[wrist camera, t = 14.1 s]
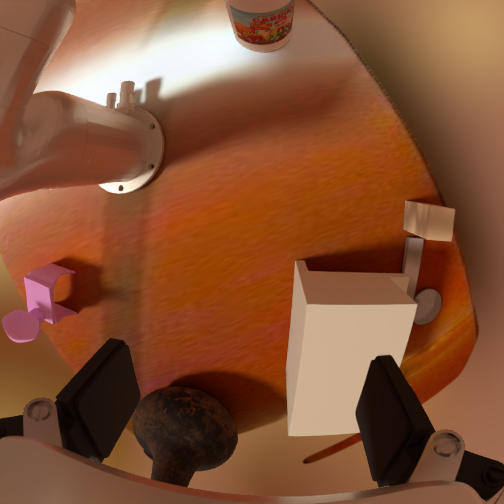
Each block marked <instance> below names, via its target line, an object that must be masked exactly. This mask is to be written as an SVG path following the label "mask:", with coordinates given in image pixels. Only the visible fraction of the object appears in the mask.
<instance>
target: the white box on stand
mask: <svg viewBox="0 0 504 504" xmlns="http://www.w3.org/2000/svg"><path fill="white" fill-rule="evenodd" d="M408 283H409V277H408V276H407V275H406V274H402V273H358V272H324V271H308V269H307V266H306V264H305V261H304V260H295V273H294V287H293V300H292V312H291V323H290V334H289V344H288V354H287V364H286V385H287V411H288V436H317V435H334V434H348V433H358V432H360V430H359V427H358V423H357V420H356V416H355V411H356V407H357V404H358V401H359V398H360V395H361V392H362V389H363V386H364V382H365V379H366V376H367V372H368V369H369V366H370V362H371V360H375V358H376V356H380V355H392V357H393V358H394V360H395V362H396V363H397V365H398V367H399V368H400V365H401V362H402V359H403V355H404V352H405V349H406V346H407V342H408V339H409V336H410V332H411V328H412V325H413V321H414V317H415V313H416V309H417V303H416V302H415V301H414V300H413V299H412V298H411V297H410V296H409V295H408V294H407V288H408Z"/></svg>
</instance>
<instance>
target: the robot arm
mask: <svg viewBox="0 0 504 504" xmlns="http://www.w3.org/2000/svg"><path fill="white" fill-rule="evenodd" d="M75 13H76V2H75V0H0V201H1V200H4V199H6V198H9V197H12V196H15V195H18V194H23V193H27V192H32V191H39V190H46V189H56V188H66V187H76V186H87V185H99V186H100V187H101V188H103V189H104V190H106V191H108V192H111V193H115V194H126V193H130V192H134V191H136V190H139V189H140V188H142V187H143V186H145V185H146V184H147V183H148V182H149V181H150V180H151V179H152V178H153V177H154V175H155V174H156V172H157V171H158V169H159V167H160V165H161V162H162V158H163V155H164V147H165V143H164V135H163V131H162V128H161V126H160V124H159V122H158V121H157V119H156V118H155V117H154V116H153V115H152V114H151V113H149V112H148V111H146V110H144V109H141V108H139V107H134V106H135V104H134V103H132V98H133V93H134V84H135V83H134V82H132V81H124V82H122V83H121V89H120V103H118V104H117V109H115V102H116V95H117V94H116V93H108V94H107V101H106V103H107V105H106V106H103V105H100V104H97V103H95V102H92V101H89V100H86V99H83V98H80V97H77V96H74V95H71V94H68V93H65V92H61V91H44V92H39V93H35V94H33V92H34V90H35V88H36V86H37V84H38V82H39V80H40V78H41V76H42V74H43V72H44V70H45V69H46V67H47V65H48V63H49V61H50V60H51V58H52V56H53V55H54V53H55V51H56V50H57V48H58V46H59V45H60V43H61V41H62V40H63V38H64V36H65V35H66V33H67V32H68V30H69V28H70V26H71V24H72V22H73V20H74V17H75ZM154 126H155V128H154ZM153 165H154V168H152V166H153ZM123 188H124V189H123ZM56 399H57V400H56V402H55V403H53V401H52V400H50V399H47V398H37V399H34V400H32V401H30V402H29V403H28V404H27V405H26V406H25V408H24V412H23V415H19V416H14V417H8V418H1V419H0V504H504V464H503V463H500V462H499V461H496V460H493V459H489V458H486V457H483V456H480V455H477V454H474V453H471V452H468V451H466V450H465V443H464V440H463V438H462V437H461V436H460V435H459V434H458V433H456V432H454V431H452V430H447V429H445V430H439V431H435V429H434V428H433V426H432V424H431V422H430V420H429V418H428V416H427V414H426V412H425V411H424V409H423V407H422V405H421V403H420V401H419V400H418V398H417V396H416V394H415V392H414V391H413V389H412V388H411V386H409V384H408V382H407V381H406V379H405V377H404V375H403V374H402V372H401V370H400V368H399V367H398V365H397V363H396V362H395V360H394V358H393V357H392V355H380V356H376V358H375V360H371V362H370V366H369V369H368V372H367V376H366V379H365V382H364V386H363V389H362V392H361V395H360V398H359V401H358V404H357V407H356V411H355V416H356V420H357V423H358V427H359V430H360V434H361V438H362V441H363V445H364V449H365V452H366V456H367V460H368V464H369V468H370V472H371V476H372V479H373V481H377V483H378V487H383V488H377V489H372V490H365V491H358V492H350V493H341V494H331V495H319V496H300V497H273V496H272V497H271V496H250V495H237V494H227V493H219V492H212V491H205V490H199V489H193V488H187V487H182V486H177V485H173V484H168V483H164V482H160V481H156V480H152V479H148V478H145V477H141V476H137V475H134V474H131V473H127V472H125V471H122V470H118V469H116V468H113V467H110V466H107V465H104V464H102V461H103V460H104V458H107V457H109V455H110V453H111V451H112V450H113V448H114V446H115V444H116V442H117V441H118V439H119V437H120V435H121V433H122V431H123V430H124V428H125V426H126V424H127V423H128V421H129V419H130V417H131V416H132V414H133V412H134V410H135V409H136V407H137V405H138V403H139V401H140V391H139V387H138V383H137V380H136V376H135V372H134V367H133V363H132V359H131V354H130V350H129V346H128V345H126V344H125V342H124V341H123V340H118V339H113V338H110V339H109V340H108V341H107V342H106V343H105V344H104V345H103V346H102V347H101V348H100V349H99V350H98V351H97V352H96V353H95V354H94V355H93V357H92V358H91V359H90V360H89V361H88V362H87V363H86V364H85V365H84V366H83V367H82V368H81V370H80V371H79V372H78V373H77V374H76V375H75V376H74V377H73V378H72V379H71V380H70V382H69V383H68V384H67V385H66V386H65V387H64V388H63V390H62V391H61V392H60V393H59V394H58V395H57V396H56ZM89 458H90V459H89ZM91 459H92V460H91ZM96 461H97V462H96ZM384 486H389V487H384Z"/></svg>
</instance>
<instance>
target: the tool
mask: <svg viewBox="0 0 504 504" xmlns="http://www.w3.org/2000/svg"><path fill="white" fill-rule="evenodd" d="M454 215H455V209H452V208H448V207H443V206H438V205H433V204H428V203H421V202H413V201H405V212H404V223H403V229H404V230H406V231H408V232H411V233H413V234H415V235H417V236H420V237H422V238H420V237H406V245H405V252H404V259H403V265H402V272H401V273H402V274H406V275H407V276H408V277H409V283H408V288H407V294H408V295H409V296H410V297H411V298H412V299H414V294H415V289H416V284H417V279H418V274H419V268H420V262H421V256H422V249H423V242H424V239H427V240H439V241H451V240H452V233H453V225H454ZM423 238H424V239H423Z"/></svg>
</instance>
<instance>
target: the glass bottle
mask: <svg viewBox="0 0 504 504" xmlns="http://www.w3.org/2000/svg"><path fill="white" fill-rule="evenodd" d="M133 430H134V434H135V436H136V439H137V440H138V442H139V444H140V445H141V446H142V448H143V449H144V452H145V454H146V455H147V456H148V457H149V458H150V459H152V460H153V467H152V475H151V479H152V480H156V481H160V482H164V483H168V484H173V485H177V486H182V487H187V486H188V485H189V482H190V480H191V478H192V476H193V474H194V473H195V471H205V470H210V469H213V468H216V467H218V466H220V465H222V464H223V463H224V462H226V461H227V460H228V459H229V458H230V457H231V455H232V454H233V451H234V450H235V448H236V445H237V442H238V435H237V428H236V425H235V422H234V420H233V418H232V416H231V414H230V413H229V412H228V410H227V409H226V408H225V407H224V406H223V405H222V404H221V403H220V402H219V401H218V400H216V399H215V398H214V397H212V396H211V395H208V394H207V393H205V392H202V391H200V390H197V389H193V388H189V387H181V386H172V387H165V388H161V389H158V390H155V391H153V392H151V393H150V394H148V395H147V396H145V397H144V398H143V399H142V400H141V401H140V402H139V403H138V405H137V407H136V409H135V411H134V414H133Z"/></svg>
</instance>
